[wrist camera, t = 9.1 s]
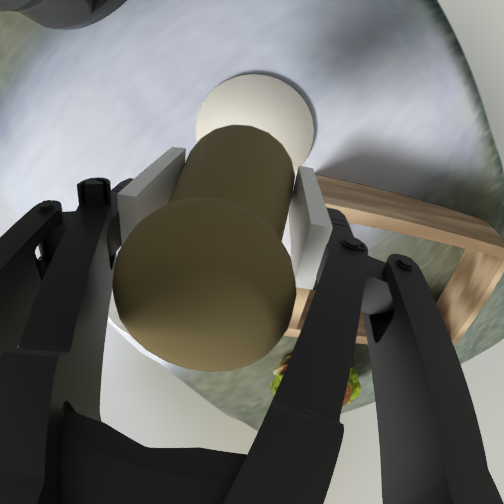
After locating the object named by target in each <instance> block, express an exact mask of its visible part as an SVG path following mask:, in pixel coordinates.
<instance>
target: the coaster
mask: <svg viewBox="0 0 504 504" xmlns="http://www.w3.org/2000/svg"><path fill="white" fill-rule="evenodd" d="M229 125H248V126H253V127H256V128H258V129H261V130H263V131H266V132H268V133H270V134H271V135H272V136H273V137H274V138H275V139H277V140H278V141H279V142H280V143H281V144H283V146H284V148H285V149H286V151H287V153H288V154H289V156H290V158H291V159H292V164H293V169H294V172H295V171H296V170H297V169H298V167H299V166H301V165H302V164H303V162H304V161H305V159H306V158H307V156H308V154H309V152H310V149H311V146H312V143H313V136H314V126H313V119H312V116H311V113H310V110H309V108H308V106H307V104H306V102H305V101H304V99H303V98H302V97H301V96H300V94H299V93H298V92H297V91H296V90H295V89H293V88H292V87H291V86H289V85H288V84H287V83H285V82H283V81H281V80H279V79H277V78H274V77H271V76H266V75H259V74H249V75H242V76H238V77H234V78H231V79H229V80H227V81H225V82H223V83H222V84H220V85H219V86H217V87H216V88H215V89H214V90H213V91H211V93H210V94H209V95H208V96H207V97H206V99H205V100H204V102H203V103H202V105H201V107H200V110H199V112H198V116H197V120H196V139H197V143H198V141H199V140H200V139H201V138H202V137H204V136H205V135H207V134H208V133H210V132H211V131H213V130H214V129H217V128H221V127H225V126H229Z"/></svg>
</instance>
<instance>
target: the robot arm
mask: <svg viewBox="0 0 504 504" xmlns="http://www.w3.org/2000/svg"><path fill="white" fill-rule="evenodd" d="M125 1H126V0H0V11H18V12H20V13H21V14H23V15H25V16H26V17H28V18H30V19H32V20H33V21H35V22H37V23H38V24H40V25H42V26H44V27H47V28H52V29H78V28H82V27H86V26H88V25H91V24H93V23H95V22H97V21H99V20H101V19H103V18H105V17H106V16H108V15H109V14H111V13H112V12H113V11H115V10H116V9H117V8H118V7H119V6H121V5H122V4H123V3H124V2H125ZM185 152H186V149H185V148H175V147H172V148H171V149H169V150H168V151H167V152H166V153H164V154H163V155H162V156H161V157H160V158H158V159H157V160H156V161H155V162H153V163H152V164H151V165H150V166H149V167H147V168H146V169H145V170H144V171H143V172H142V173H140V174H139V175H138V176H137V177H136V178H135V179H131V178H129V179H127V180H124V181H122V182H120V183H119V184H118V185H117V186H116V187H114V188H113V189H112V190H111V187H110V181H109V180H108V179H105V178H90V179H86V180H84V181H81V182H80V183H79V184H77V190H78V199H79V206H78V208H77V210H76V211H71V212H62V206H61V203H60V202H59V201H55V200H53V201H51V200H47V201H43V202H42V203H39V204H37V205H36V206H34V207H33V208H32V209H31V210H30V211H28V212H27V213H26V214H25V215H24V216H23V217H22V218H21V219H20V220H18V221H17V222H16V223H15V224H14V225H13V226H12V227H11V228H10V229H9V230H8V231H7V232H6V233H5V234H3V236H1V237H0V504H323V503H324V500H325V497H326V494H327V491H328V488H329V484H330V481H331V478H332V475H333V472H334V468H335V464H336V461H337V458H338V454H339V450H340V447H341V443H342V439H343V433H344V425H343V424H341V423H340V421H339V420H340V414H341V410H342V406H343V401H344V397H345V393H346V388H347V384H348V379H349V374H350V369H351V364H352V359H353V354H354V349H355V343H356V337H357V332H358V325H359V319H360V313H361V311H362V312H363V320H364V325H365V331H366V337H367V343H368V349H369V356H370V362H371V369H372V377H373V384H374V392H375V401H376V410H377V420H378V431H379V443H380V457H381V476H382V498H383V504H504V503H503V501H502V499H501V496H500V494H499V492H498V490H497V487H496V485H495V483H494V481H493V479H492V477H491V475H490V473H489V470H488V467H487V461H486V456H485V451H484V446H483V442H482V438H481V433H480V429H479V425H478V421H477V417H476V413H475V410H474V406H473V403H472V400H471V396H470V393H469V389H468V386H467V383H466V380H465V377H464V374H463V371H462V368H461V365H460V362H459V359H458V357H457V354H456V351H455V348H454V346H453V343H452V340H451V338H450V335H449V333H448V330H447V328H446V325H445V323H444V320H443V318H442V316H441V313H440V311H439V309H438V306H437V304H436V302H435V300H434V297H433V295H432V293H431V291H430V289H429V286H428V284H427V282H426V280H425V278H424V276H423V274H422V272H421V270H420V268H419V266H418V265H417V264H416V263H415V262H414V261H413V260H412V259H411V258H408V257H407V256H403V255H400V254H392V255H390V256H389V257H388V259H387V261H386V263H385V262H382V261H380V260H377V259H375V258H372V257H370V256H368V249H367V246H366V245H365V244H364V243H363V242H361V241H360V240H359V239H356V238H354V236H353V234H352V231H351V229H350V227H349V224H348V223H347V222H348V221H347V219H346V217H345V215H344V214H343V213H342V212H341V211H339V210H337V209H332V208H327V207H326V205H325V202H324V199H323V196H322V193H321V190H320V187H319V184H318V182H317V179H316V176H315V173H314V170H313V168H308V167H303V166H299V167H298V171H297V176H296V181H295V185H294V190H293V194H292V199H291V203H290V208H289V223H290V238H291V254H292V267H293V271H294V276H295V281H296V287H298V288H304V289H311V290H313V287H314V284H315V281H316V278H317V285H318V286H317V288H316V291H315V294H314V297H313V300H312V302H311V305H310V308H309V310H308V313H307V316H306V319H305V321H304V324H303V327H302V329H301V332H300V334H299V337H298V340H297V342H296V345H295V347H294V350H293V352H292V355H291V357H290V360H289V362H288V365H287V367H286V369H285V372H284V374H283V377H282V379H281V382H280V384H279V386H278V389H277V391H276V393H275V396H274V398H273V400H272V402H271V405H270V407H269V409H268V411H267V414H266V416H265V418H264V420H263V423H262V425H261V427H260V429H259V431H258V434H257V436H256V438H255V440H254V442H253V444H252V446H251V449H250V450H249V453H248V455H245V454H238V453H230V452H223V451H217V450H211V449H205V448H149V447H145V446H143V445H141V444H139V443H137V442H136V441H134V440H132V439H130V438H128V437H127V436H125V435H123V434H122V433H120V432H118V431H117V430H115V429H113V428H112V427H110V426H109V425H107V424H105V423H103V422H101V418H100V389H101V373H102V363H103V352H104V342H105V334H106V327H107V319H108V312H109V306H110V299H111V293H112V282H113V273H114V266H115V262H116V259H117V256H116V251H117V250H118V249H119V247H120V246H121V247H122V246H123V244H124V242H125V241H126V239H127V237H128V236H129V234H130V233H131V231H132V230H133V229H134V228H135V227H136V225H137V224H138V223H139V222H140V221H141V220H143V219H144V218H146V217H147V216H149V215H150V214H152V213H153V212H155V211H156V210H157V209H159V208H160V207H163V206H165V205H167V204H168V202H169V199H170V197H171V194H172V192H173V190H174V187H175V185H176V183H177V180H178V178H179V176H180V174H181V171H182V169H183V167H184V165H185ZM37 246H39V250H40V254H41V256H40V257H39V258H38V259H37V258H36V255H35V249H36V247H37ZM18 346H19V347H18Z"/></svg>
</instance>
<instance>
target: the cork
mask: <svg viewBox="0 0 504 504" xmlns="http://www.w3.org/2000/svg"><path fill="white" fill-rule="evenodd" d="M294 180H295V173H294V169H293V164H292V159H291V158H290V156H289V154H288V153H287V151H286V149H285V148H284V146H283V144H281V143H280V142H279V141H278V140H277V139H275V138H274V137H273V136H272V135H271V134H270V133H268V132H266V131H263V130H261V129H258V128H256V127H253V126H248V125H229V126H225V127H221V128H217V129H214V130H213V131H211V132H210V133H208V134H207V135H205V136H204V137H202V138H201V139H200V140H199V141H198V143H197V144H196V145H195V146H194V148H193V149H192V150H191V152H190V154H189V156H188V158H187V160H186V162H185V165H184V167H183V169H182V171H181V174H180V176H179V178H178V180H177V183H176V185H175V187H174V190H173V192H172V194H171V197H170V199H169V202H168V204H167V205H165V206H163V207H160V208H159V209H157V210H156V211H155V212H153V213H152V214H150V215H149V216H147V217H146V218H144V219H143V220H141V221H140V222H139V223H138V224H137V225H136V227H135V228H134V229H133V230H132V231H131V233H130V234H129V236H128V237H127V239H126V241H125V242H124V244H123V246H122V247H121V249H120V251H119V252H118V255H117V259H116V262H115V266H114V273H113V282H112V290H113V296H114V301H115V305H116V308H117V312H118V315H119V319H120V320H121V322H122V323H123V325H124V326H125V328H126V329H127V331H128V332H129V334H130V335H131V336H132V337H133V338H134V339H135V340H136V341H137V342H138V343H139V344H140V345H142V346H143V347H144V348H145V349H146V350H147V351H149V352H151V353H152V354H154V355H156V356H158V357H159V358H161V359H163V360H165V361H167V362H169V363H172V364H175V365H178V366H181V367H183V368H186V369H193V370H199V371H206V372H218V371H232V370H235V369H239V368H242V367H246V366H249V365H252V364H253V363H255V362H256V361H258V360H260V359H261V358H263V357H264V356H266V355H267V354H268V353H269V352H270V351H271V350H272V349H273V348H274V347H275V346H276V344H277V343H278V342H279V340H280V339H281V338H282V336H283V335H284V334H285V332H286V331H287V330H288V327H289V324H290V321H291V318H292V314H293V309H294V305H295V300H296V295H297V293H296V281H295V276H294V271H293V267H292V262H291V257H290V255H289V254H288V252H287V250H286V248H285V246H284V245H283V243H282V242H281V241H282V237H283V233H284V228H285V224H286V220H287V216H288V211H289V207H290V203H291V198H292V194H293V188H294Z"/></svg>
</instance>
